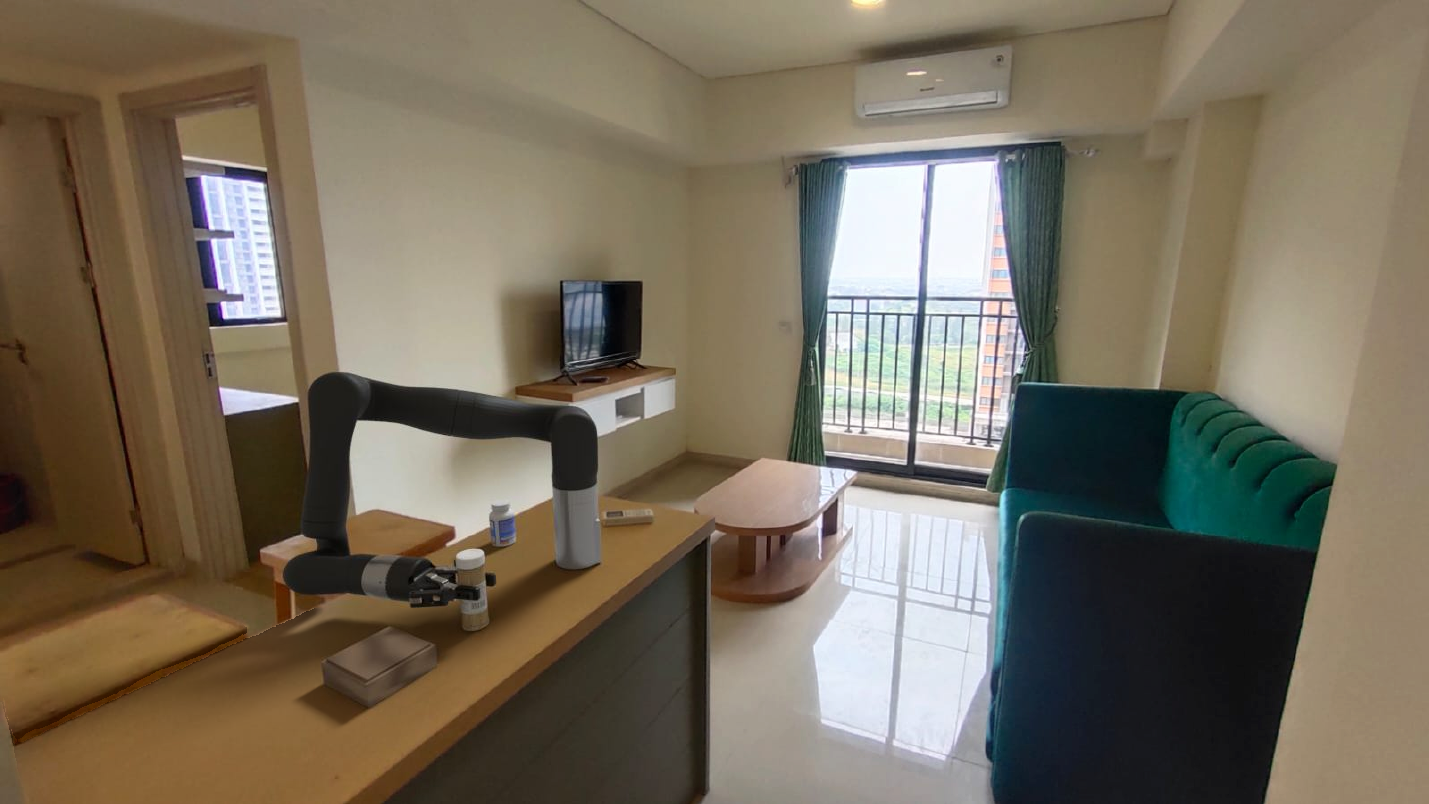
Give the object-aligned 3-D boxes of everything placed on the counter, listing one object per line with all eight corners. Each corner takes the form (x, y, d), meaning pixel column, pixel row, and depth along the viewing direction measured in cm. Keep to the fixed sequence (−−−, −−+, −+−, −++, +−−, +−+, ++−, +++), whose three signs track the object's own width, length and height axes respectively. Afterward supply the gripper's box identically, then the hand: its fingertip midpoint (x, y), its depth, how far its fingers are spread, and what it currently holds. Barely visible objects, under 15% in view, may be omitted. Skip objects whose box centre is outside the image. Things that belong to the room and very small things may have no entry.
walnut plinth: (393, 646, 101) (390, 623, 100) (437, 666, 95) (435, 642, 95) (323, 683, 91) (320, 659, 90) (369, 708, 86) (366, 682, 85)
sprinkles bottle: (487, 616, 110) (482, 545, 107) (490, 628, 106) (485, 556, 103) (460, 622, 108) (454, 550, 105) (462, 635, 104) (456, 561, 101)
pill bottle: (519, 538, 143) (517, 498, 141) (510, 548, 138) (507, 507, 136) (497, 537, 144) (494, 497, 142) (486, 547, 138) (483, 506, 136)
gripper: (366, 576, 100) (461, 586, 97) (422, 541, 114) (507, 548, 111) (371, 618, 102) (464, 629, 99) (426, 578, 115) (509, 587, 112)
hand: (486, 586), depth 105 cm, fingers closed on sprinkles bottle, 4 cm apart
